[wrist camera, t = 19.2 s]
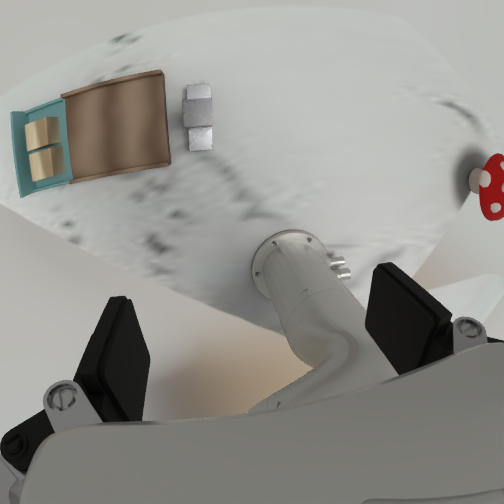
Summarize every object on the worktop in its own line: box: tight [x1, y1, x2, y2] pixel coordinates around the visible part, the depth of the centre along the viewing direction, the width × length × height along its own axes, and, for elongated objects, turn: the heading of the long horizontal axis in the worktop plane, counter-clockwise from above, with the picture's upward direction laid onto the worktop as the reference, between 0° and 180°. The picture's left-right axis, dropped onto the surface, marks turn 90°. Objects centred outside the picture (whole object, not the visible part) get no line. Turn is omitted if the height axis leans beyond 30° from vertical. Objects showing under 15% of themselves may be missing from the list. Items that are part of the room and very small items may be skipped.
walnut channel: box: [61, 70, 171, 184], centre depth 33 cm, size 14×13×4 cm
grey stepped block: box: [183, 83, 213, 151], centre depth 32 cm, size 3×9×10 cm, turn 2°
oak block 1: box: [25, 117, 61, 152], centre depth 30 cm, size 4×4×4 cm
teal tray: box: [11, 98, 73, 198], centre depth 31 cm, size 8×13×5 cm, turn 4°
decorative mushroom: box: [469, 153, 504, 221], centre depth 39 cm, size 14×14×15 cm
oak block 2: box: [29, 146, 66, 182], centre depth 32 cm, size 4×4×4 cm
